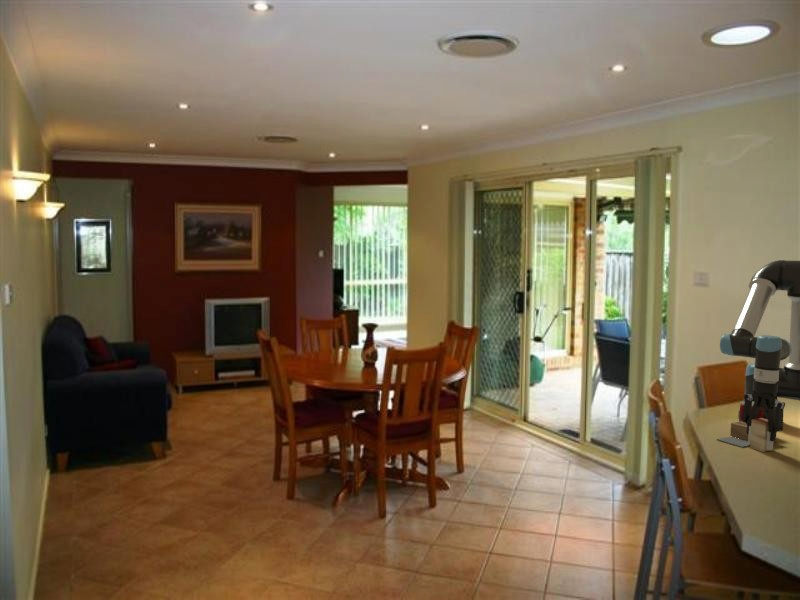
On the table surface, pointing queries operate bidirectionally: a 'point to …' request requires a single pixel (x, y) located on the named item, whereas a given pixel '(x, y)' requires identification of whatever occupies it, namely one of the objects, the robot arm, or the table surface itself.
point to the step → (740, 430)
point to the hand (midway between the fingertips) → (760, 446)
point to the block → (759, 434)
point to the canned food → (760, 414)
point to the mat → (735, 441)
